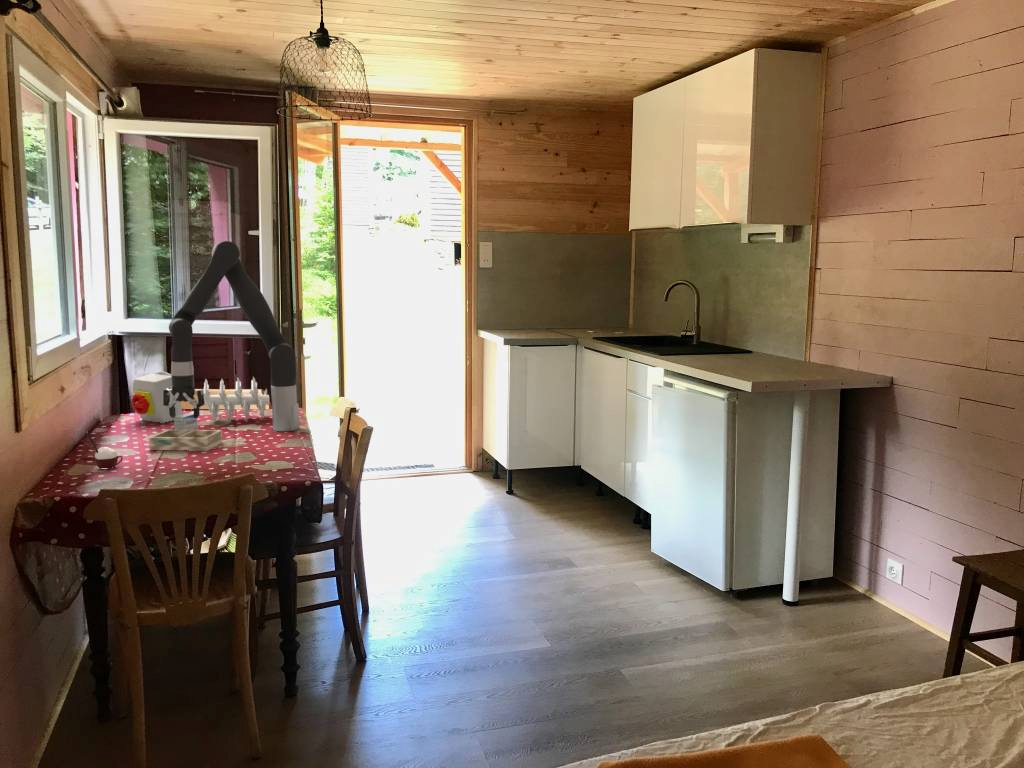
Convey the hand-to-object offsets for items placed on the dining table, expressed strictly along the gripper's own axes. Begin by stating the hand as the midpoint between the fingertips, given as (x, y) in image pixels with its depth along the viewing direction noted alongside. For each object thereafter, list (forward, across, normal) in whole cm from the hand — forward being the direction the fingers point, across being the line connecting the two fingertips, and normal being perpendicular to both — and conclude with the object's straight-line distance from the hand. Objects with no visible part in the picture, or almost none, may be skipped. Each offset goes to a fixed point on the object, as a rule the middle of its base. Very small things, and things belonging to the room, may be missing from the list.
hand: (184, 417), depth 292 cm
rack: (+8, -6, +13) cm, 16 cm away
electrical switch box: (+8, +27, -30) cm, 41 cm away
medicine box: (+8, 0, 0) cm, 8 cm away
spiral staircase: (+8, -6, -33) cm, 35 cm away
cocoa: (+8, +5, +43) cm, 44 cm away
